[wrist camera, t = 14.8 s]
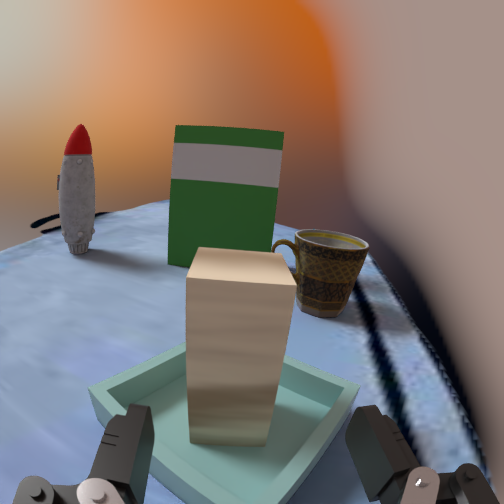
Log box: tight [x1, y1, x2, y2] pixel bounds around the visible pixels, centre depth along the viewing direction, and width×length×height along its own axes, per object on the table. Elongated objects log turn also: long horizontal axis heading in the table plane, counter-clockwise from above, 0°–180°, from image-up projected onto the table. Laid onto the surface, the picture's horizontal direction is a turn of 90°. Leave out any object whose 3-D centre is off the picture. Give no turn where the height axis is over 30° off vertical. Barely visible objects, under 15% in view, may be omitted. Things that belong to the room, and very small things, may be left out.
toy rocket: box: [57, 124, 95, 254], centre depth 50 cm, size 8×8×25 cm
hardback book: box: [168, 125, 284, 267], centre depth 52 cm, size 18×7×24 cm, turn 85°
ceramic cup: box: [271, 229, 369, 317], centre depth 40 cm, size 13×10×10 cm
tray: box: [88, 342, 361, 504], centre depth 19 cm, size 14×14×4 cm
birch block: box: [186, 247, 297, 447], centre depth 18 cm, size 5×5×12 cm
